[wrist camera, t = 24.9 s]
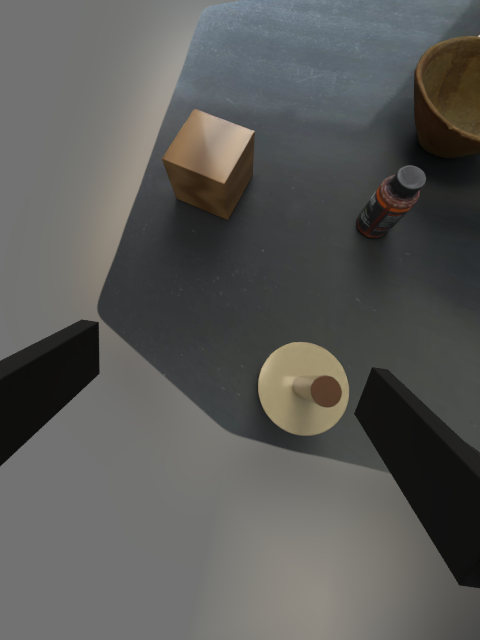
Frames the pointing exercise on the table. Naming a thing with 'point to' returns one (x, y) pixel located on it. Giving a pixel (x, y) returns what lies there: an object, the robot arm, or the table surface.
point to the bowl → (449, 98)
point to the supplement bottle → (391, 201)
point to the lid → (303, 388)
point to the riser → (210, 163)
